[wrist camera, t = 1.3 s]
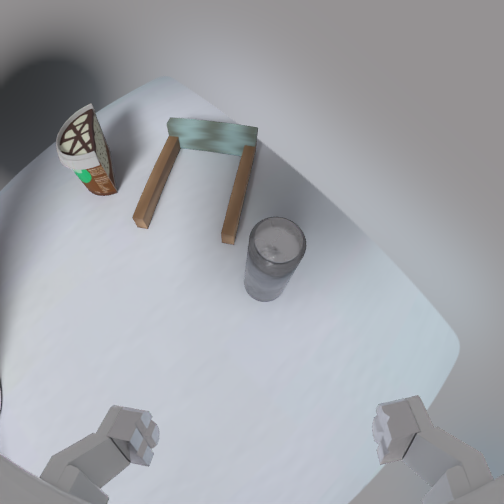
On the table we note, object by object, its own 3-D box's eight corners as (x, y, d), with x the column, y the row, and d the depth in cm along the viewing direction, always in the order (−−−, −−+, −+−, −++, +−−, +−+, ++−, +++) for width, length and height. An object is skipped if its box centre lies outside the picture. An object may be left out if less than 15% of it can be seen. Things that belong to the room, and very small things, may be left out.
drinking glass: (240, 297, 33) (244, 260, 23) (248, 259, 35) (255, 208, 25) (281, 305, 33) (304, 271, 23) (287, 266, 35) (310, 219, 25)
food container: (77, 159, 40) (55, 118, 31) (109, 145, 42) (91, 101, 33) (82, 216, 36) (51, 174, 27) (119, 200, 38) (94, 154, 28)
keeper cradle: (137, 226, 36) (126, 207, 31) (174, 140, 42) (170, 117, 38) (233, 244, 36) (233, 225, 31) (255, 151, 42) (257, 127, 38)
